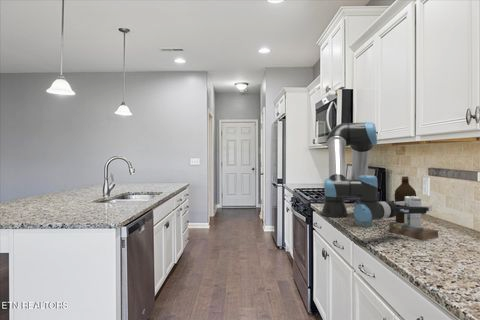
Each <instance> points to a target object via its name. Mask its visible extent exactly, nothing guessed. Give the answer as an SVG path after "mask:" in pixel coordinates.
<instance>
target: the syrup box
mask: <svg viewBox="0 0 480 320" xmlns="http://www.w3.org/2000/svg"><path fill="white" fill-rule="evenodd" d="M405 205H406V206H408V207H420V206H422V198H421V197H418V196H416V197H415V196H405ZM404 225H409V226H413V227H418V228H421V227H422V214H404Z"/></svg>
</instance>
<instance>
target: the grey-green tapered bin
mask: <svg viewBox="0 0 480 320" xmlns="http://www.w3.org/2000/svg"><path fill="white" fill-rule="evenodd" d="M357 204H359V201H354V202H353V207H354V208H355V206H356V205H357ZM354 208H353V209H354ZM373 223H374V220H371V221H359V220H357V219H356V218H355V217H354V225H355V226H356V227H359V228H370V227H371V228H372V227H373Z"/></svg>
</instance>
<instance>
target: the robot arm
mask: <svg viewBox="0 0 480 320" xmlns="http://www.w3.org/2000/svg"><path fill="white" fill-rule="evenodd" d="M377 144H378V137H377V129H376V124H375V122H370V121H369V122H367V121H365V122H343V123H339V124H337V125H336V126H334V127H333V128H332V129H331V130H330V131H329V133H328V135H327V137H326V146H327V149H328V178H326V179H325V180H324V186H323V187H324V203H323V206H322V209H321V216H323V217H327V218H345V217H348V210H347V207H346V204H345V199H353V200H354V199H355V200H358V202H359V204H357V205H356V206H355V208H353V215H354V216H353V217H354V219H355V218H356V219H357V220H359V221H371V220H373V221H377V220H378V221H382V220H383V219H392V218H396V215H397V214H400V213H404V214H421V215H425V214H427V212H429V213H430V212H432V210H433V208H432V207H433V206H432V205H431V204H429V205H421V206H420V207H408V206H406V205H405V201H401V202H395V200H388V201H387V200H385V201H378V200H379V199H378V198H379V197H378V196H379V195H378V193H379V190H378V189H379V185H378V178H377V176H375V175H371V174H370V175H369V174H368V172H369V170H368V169H369V159H370V151H371V150H373V148H374V146H375V145H377ZM346 146H350V149H351V150H352V154H351V155H352V159H351V174H350V175H349V177H348V178H347V174H346V172H347V171H346V152H345V148H346ZM403 207H404V209H403Z"/></svg>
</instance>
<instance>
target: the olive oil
mask: <svg viewBox="0 0 480 320" xmlns="http://www.w3.org/2000/svg"><path fill="white" fill-rule="evenodd" d="M409 181H410V179H409V176H406V175H405V176H401V184H400V185H399V186H398V187H397V188H396V189H395V191H394V203H395V202H401V201H405V196H415V197H417V191H416V190H415V188H414V187H413V186H412V185H410V183H409ZM403 209H404V207H403ZM395 223H400V224H401V223H404V213H400V214H397V215H396V216H395Z"/></svg>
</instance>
